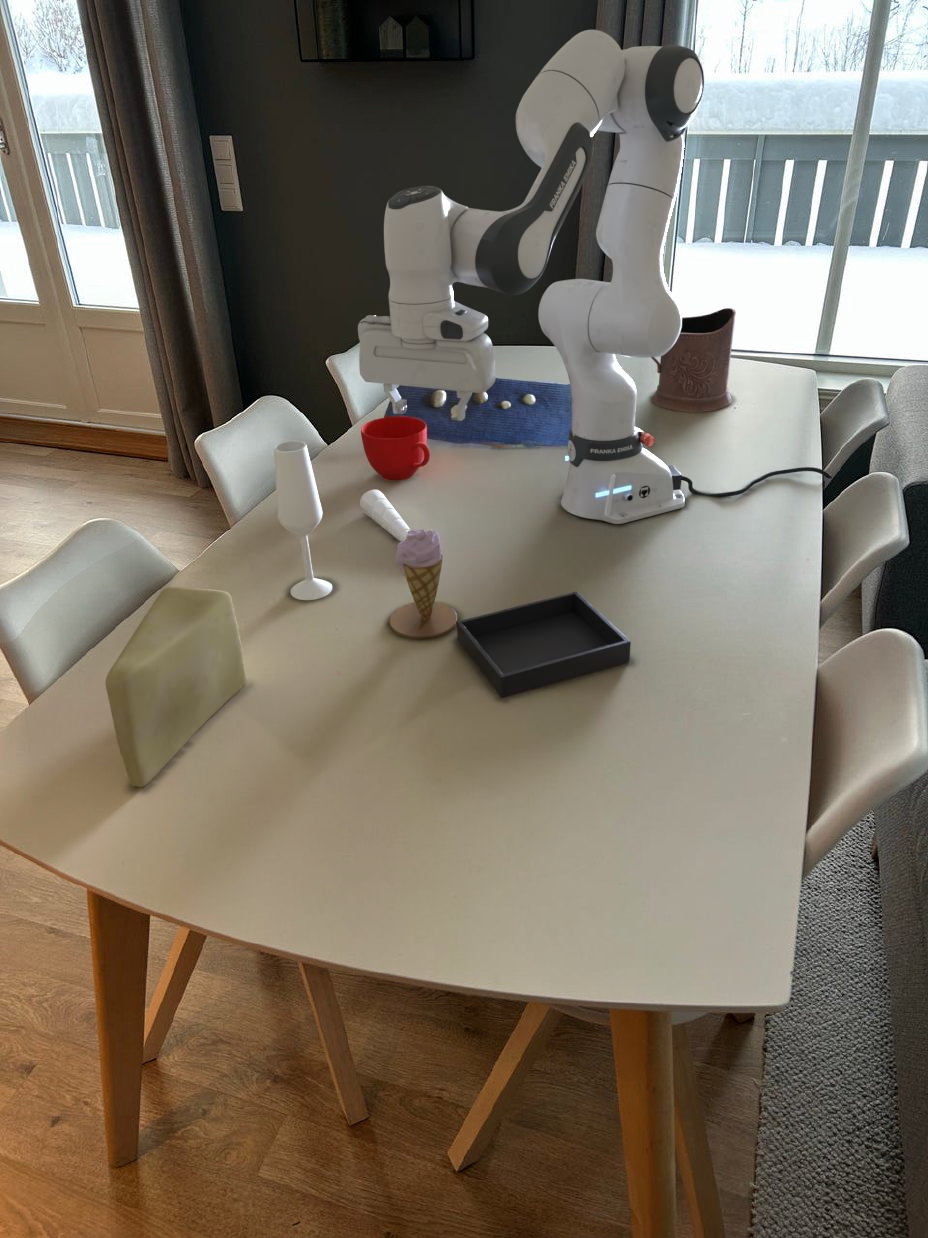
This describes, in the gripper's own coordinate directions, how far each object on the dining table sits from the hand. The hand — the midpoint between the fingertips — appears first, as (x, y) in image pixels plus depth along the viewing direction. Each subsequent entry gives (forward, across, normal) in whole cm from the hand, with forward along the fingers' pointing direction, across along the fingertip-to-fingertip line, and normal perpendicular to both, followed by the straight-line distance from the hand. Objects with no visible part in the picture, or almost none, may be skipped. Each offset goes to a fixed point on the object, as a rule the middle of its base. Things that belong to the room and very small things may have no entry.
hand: (429, 415), depth 132 cm
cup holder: (+28, +16, +99) cm, 104 cm away
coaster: (+27, +4, -13) cm, 30 cm away
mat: (+27, -20, +68) cm, 76 cm away
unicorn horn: (+27, -14, +12) cm, 33 cm away
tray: (+27, +23, -14) cm, 38 cm away
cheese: (+27, -14, -47) cm, 56 cm away
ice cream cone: (+26, +4, -13) cm, 30 cm away
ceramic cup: (+27, -25, +35) cm, 51 cm away
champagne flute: (+27, -18, -11) cm, 34 cm away
